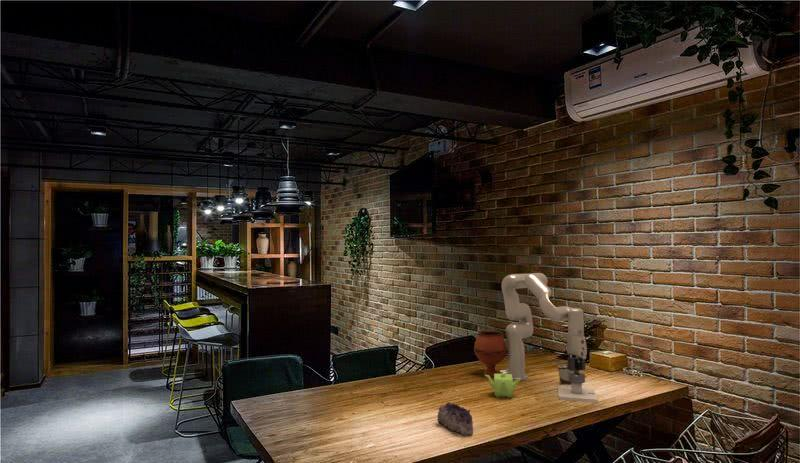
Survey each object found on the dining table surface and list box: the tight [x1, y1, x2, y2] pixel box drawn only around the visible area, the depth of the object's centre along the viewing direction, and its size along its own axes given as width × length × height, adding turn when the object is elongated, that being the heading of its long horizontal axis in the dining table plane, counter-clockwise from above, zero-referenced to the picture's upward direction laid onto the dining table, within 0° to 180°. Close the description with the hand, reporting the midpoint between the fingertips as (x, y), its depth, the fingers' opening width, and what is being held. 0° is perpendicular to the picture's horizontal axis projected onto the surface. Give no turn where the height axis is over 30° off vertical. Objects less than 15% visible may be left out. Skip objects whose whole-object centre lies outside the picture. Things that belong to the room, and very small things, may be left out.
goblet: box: [473, 330, 508, 377], centre depth 275 cm, size 19×19×25 cm
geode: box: [436, 402, 474, 437], centre depth 195 cm, size 20×12×10 cm, turn 28°
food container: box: [556, 363, 582, 386], centre depth 256 cm, size 12×6×10 cm, turn 84°
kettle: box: [484, 373, 521, 399], centre depth 236 cm, size 15×14×11 cm
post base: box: [557, 383, 599, 404], centre depth 235 cm, size 18×18×7 cm
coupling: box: [567, 356, 588, 384], centre depth 236 cm, size 9×8×12 cm
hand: (576, 368), depth 236 cm, fingers closed on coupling, 3 cm apart
